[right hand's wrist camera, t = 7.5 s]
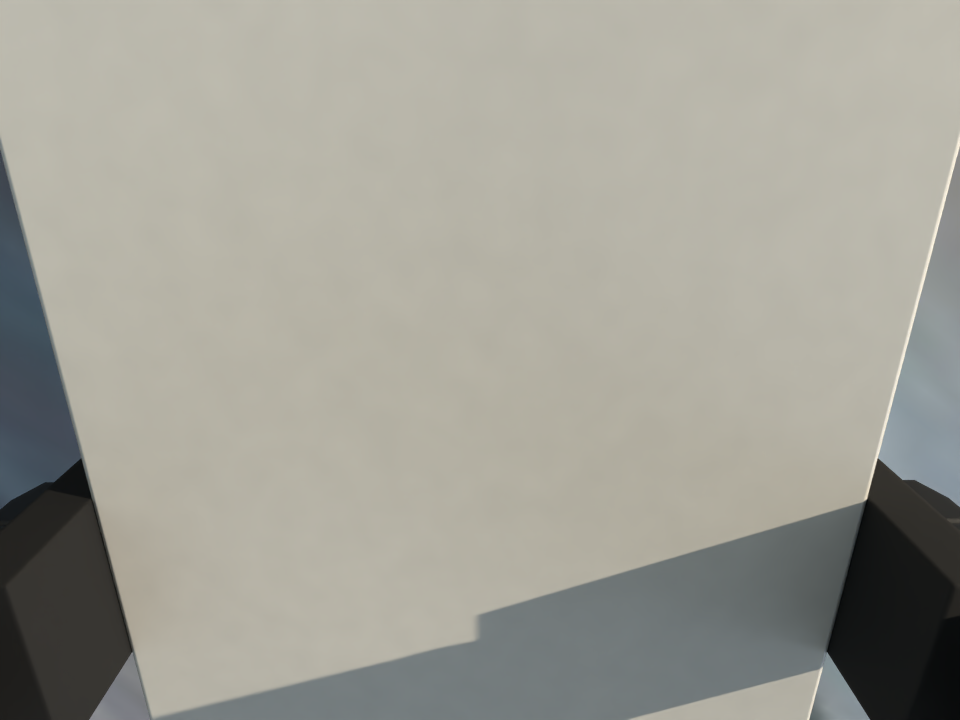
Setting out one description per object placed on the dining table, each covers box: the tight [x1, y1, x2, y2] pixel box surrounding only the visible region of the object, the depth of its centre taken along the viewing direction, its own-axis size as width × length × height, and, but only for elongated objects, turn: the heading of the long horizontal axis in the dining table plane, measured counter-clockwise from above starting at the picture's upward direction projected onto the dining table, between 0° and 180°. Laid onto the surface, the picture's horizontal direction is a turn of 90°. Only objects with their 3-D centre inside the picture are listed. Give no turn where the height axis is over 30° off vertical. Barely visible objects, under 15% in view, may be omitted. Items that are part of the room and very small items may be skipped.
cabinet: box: [0, 0, 960, 720], centre depth 10 cm, size 21×10×8 cm, turn 0°
